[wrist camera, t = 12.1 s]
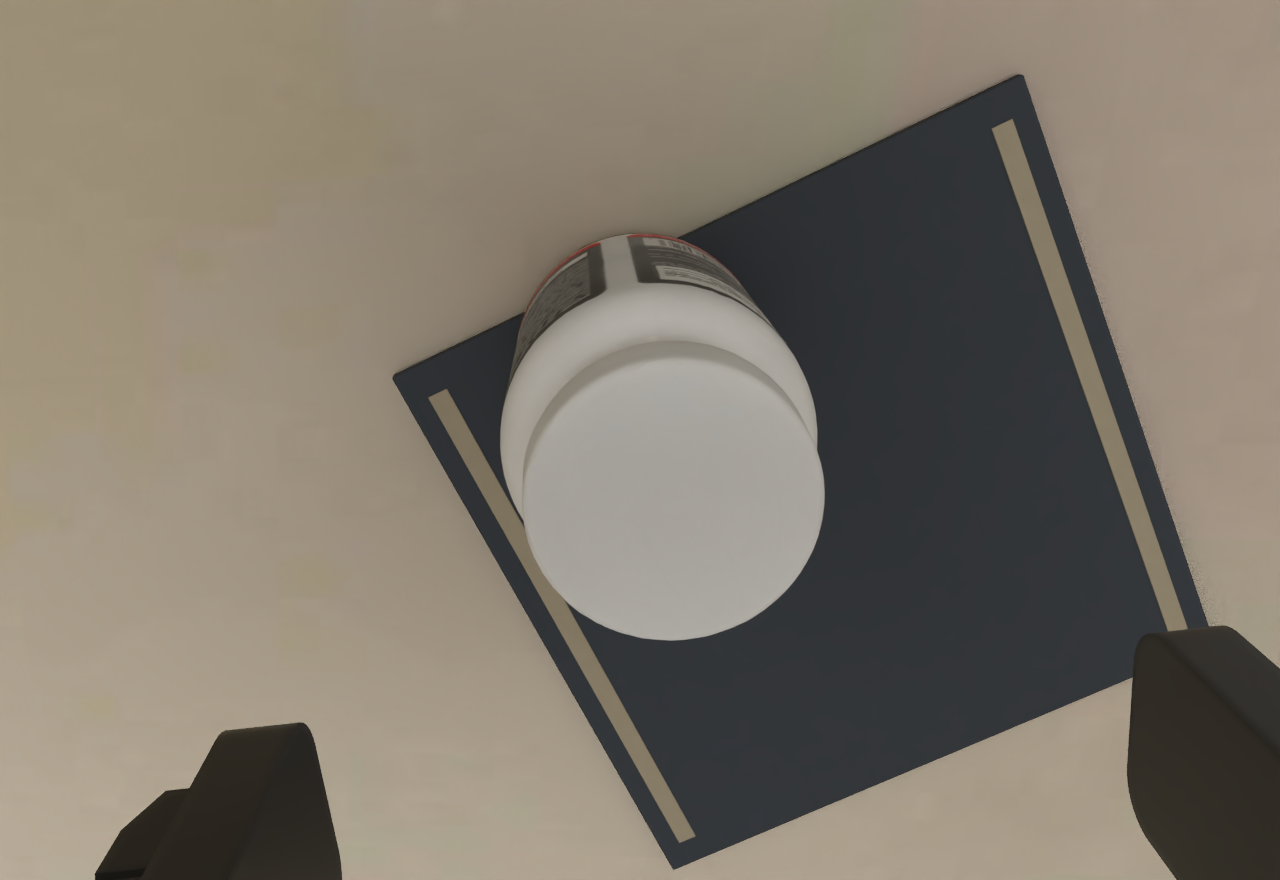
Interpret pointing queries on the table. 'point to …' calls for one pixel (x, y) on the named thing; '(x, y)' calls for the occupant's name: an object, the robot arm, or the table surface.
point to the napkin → (880, 491)
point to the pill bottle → (660, 441)
